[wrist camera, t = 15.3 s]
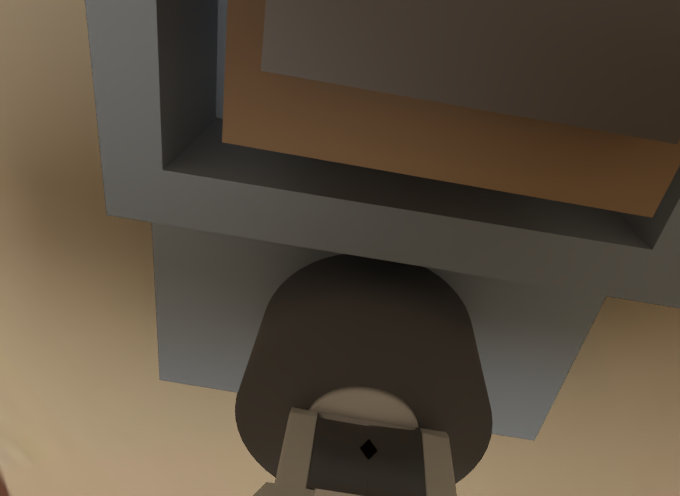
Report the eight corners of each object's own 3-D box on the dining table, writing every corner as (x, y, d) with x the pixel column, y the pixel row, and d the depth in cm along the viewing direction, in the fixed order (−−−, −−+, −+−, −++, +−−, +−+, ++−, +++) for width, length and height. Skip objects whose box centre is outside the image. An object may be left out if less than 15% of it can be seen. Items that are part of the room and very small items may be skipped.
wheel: (268, 235, 11) (237, 312, 9) (501, 272, 11) (531, 359, 9) (255, 400, 14) (228, 494, 11) (444, 430, 14) (456, 530, 11)
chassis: (168, -500, 8) (-85, -1014, 4) (860, -383, 8) (1401, -760, 4) (183, 335, 17) (112, 470, 12) (519, 389, 17) (565, 543, 12)
